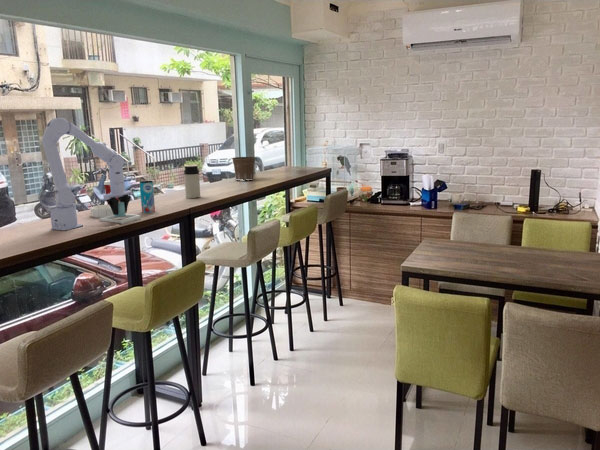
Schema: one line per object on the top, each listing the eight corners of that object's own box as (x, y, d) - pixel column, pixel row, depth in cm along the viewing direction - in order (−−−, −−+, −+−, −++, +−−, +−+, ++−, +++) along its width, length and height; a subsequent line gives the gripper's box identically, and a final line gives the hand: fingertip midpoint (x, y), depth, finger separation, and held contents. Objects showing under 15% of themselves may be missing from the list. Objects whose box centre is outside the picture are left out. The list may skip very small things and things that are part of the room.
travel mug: (190, 198, 276) (188, 166, 272) (183, 197, 282) (181, 165, 278) (203, 197, 281) (201, 164, 278) (195, 195, 287) (193, 164, 283)
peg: (120, 217, 216) (118, 203, 214) (112, 216, 218) (111, 203, 216) (127, 215, 219) (126, 201, 218) (120, 215, 221) (119, 201, 220)
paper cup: (117, 210, 244) (114, 182, 241) (103, 210, 246) (100, 181, 243) (125, 207, 252) (123, 180, 249) (111, 207, 253) (109, 179, 250)
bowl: (106, 219, 222) (105, 209, 221) (85, 218, 227) (84, 208, 226) (127, 214, 233) (126, 205, 232) (106, 213, 238) (105, 203, 237)
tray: (121, 224, 211) (120, 220, 211) (99, 222, 216) (99, 218, 216) (141, 219, 222) (140, 215, 221) (120, 217, 227) (119, 213, 226)
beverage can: (144, 214, 232) (141, 182, 229) (140, 212, 237) (137, 181, 234) (156, 213, 235) (154, 181, 232) (153, 211, 240) (150, 180, 237)
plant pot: (249, 182, 343) (248, 158, 339) (228, 181, 348) (227, 158, 345) (260, 179, 357) (259, 156, 354) (239, 179, 363) (238, 156, 360)
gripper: (122, 180, 224) (125, 210, 226) (96, 184, 211) (100, 216, 214) (134, 180, 220) (137, 211, 223) (109, 184, 208) (112, 217, 211)
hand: (120, 213), depth 218 cm, fingers closed on peg, 4 cm apart
